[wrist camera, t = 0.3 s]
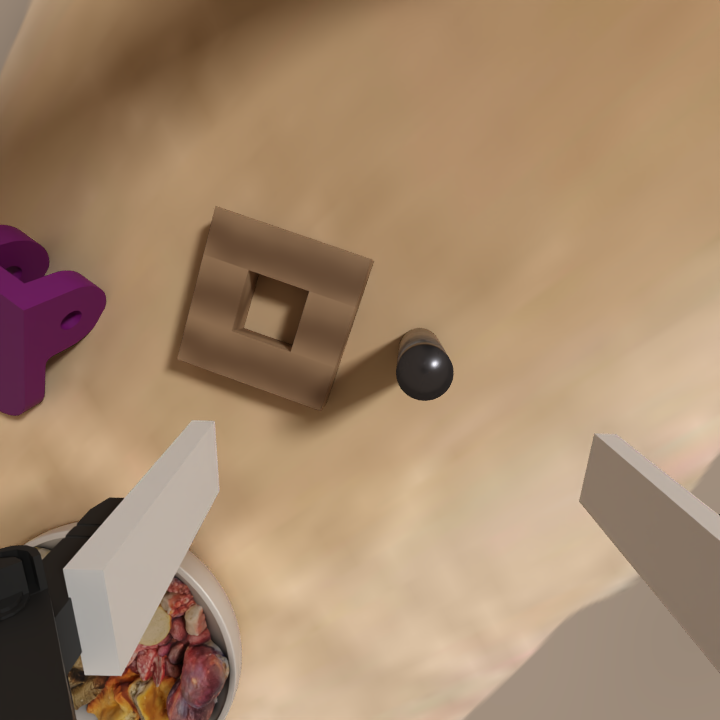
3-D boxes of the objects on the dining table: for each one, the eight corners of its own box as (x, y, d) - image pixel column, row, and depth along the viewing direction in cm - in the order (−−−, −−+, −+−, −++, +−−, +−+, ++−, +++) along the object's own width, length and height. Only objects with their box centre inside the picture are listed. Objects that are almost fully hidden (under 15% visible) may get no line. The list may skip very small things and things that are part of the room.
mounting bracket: (92, 386, 53) (110, 275, 42) (25, 430, 46) (24, 310, 35) (29, 340, 53) (29, 215, 42) (-49, 377, 46) (-74, 240, 35)
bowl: (31, 705, 56) (-30, 773, 48) (8, 494, 50) (-65, 531, 42) (252, 740, 53) (225, 818, 45) (252, 520, 47) (222, 565, 40)
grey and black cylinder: (407, 322, 41) (407, 337, 30) (446, 336, 41) (461, 356, 29) (393, 360, 42) (388, 389, 30) (431, 373, 42) (441, 408, 30)
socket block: (229, 211, 41) (215, 205, 38) (373, 261, 41) (371, 259, 38) (192, 354, 44) (177, 359, 41) (326, 402, 44) (320, 411, 41)
